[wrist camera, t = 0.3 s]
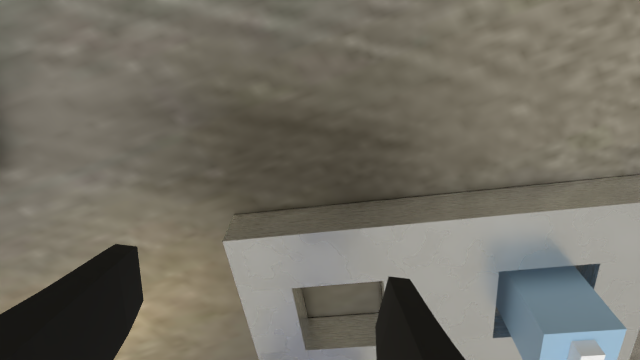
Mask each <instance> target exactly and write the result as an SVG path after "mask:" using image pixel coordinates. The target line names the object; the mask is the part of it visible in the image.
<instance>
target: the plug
mask: <svg viewBox="0 0 640 360" xmlns="http://www.w3.org/2000/svg"><path fill="white" fill-rule="evenodd" d="M496 307H497V309H498V311H499V313H500V315H501V317H502V319H503V321H504V323H505V325H506V327H507V329H508V331H509V333H510V335H511V337H512V339H513V341H514V343H515V345H516V347H517V349H518V351H519V353H520V355H521V357H522V359H523V360H617V358H618V355H619V352H620V349H621V346H622V343H623V340H624V336H625V333H626V330H627V329H626V327H625V326H624V325H623V324H622V323H621V321H620V320H619V319H618V318H617V317H616V316H615V314H614V313H613V312H612V311H611V310H610V308H609V307H608V306H607V305H606V304H605V302H604V301H603V300H602V299H601V298H600V296H599V295H598V294H597V293H596V292H595V290H594V289H593V288H592V287H591V286H590V284H589V283H588V282H587V281H586V280H585V278H584V277H583V276H582V275H581V274H580V272H579V271H578V270H577V269H576V268H575V266H562V267H550V268H537V269H525V270H512V271H500V272H499V278H498V288H497V298H496Z"/></svg>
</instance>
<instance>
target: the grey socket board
mask: <svg viewBox="0 0 640 360" xmlns="http://www.w3.org/2000/svg"><path fill="white" fill-rule="evenodd" d="M223 244H224V248H225V251H226V254H227V257H228V261H229V264H230V267H231V270H232V274H233V277H234V280H235V283H236V287H237V290H238V293H239V296H240V300H241V303H242V306H243V309H244V313H245V316H246V319H247V322H248V325H249V329H250V332H251V335H252V338H253V342H254V345H255V348H256V351H257V355H258V358H259V360H377V358H376V336H375V326H376V322H377V318H378V314H379V313H374V314H360V315H347V316H333V317H319V318H308V316H307V311H306V307H305V302H304V297H303V292H302V287H313V286H326V285H338V284H351V283H363V282H375V281H381V286H382V298H383V295H384V292H385V288H386V284H387V280H388V276H390V277H398V278H407V279H410V280H411V281H412V283H413V284H414V286H415V288H416V289H417V291H418V292H419V294H420V295H421V297H422V298H423V300H424V302H425V303H426V305H427V306H428V308H429V309H430V311H431V312H432V314H433V315H434V317H435V318H436V320H437V321H438V323H439V324H440V325H441V327H442V328H443V330H444V331H445V332H446V334H447V335H448V337H449V338H450V339H451V341H452V342H453V344H454V345H455V346H456V348H457V349H458V350H459V352H460V353H461V354H462V356H463V357H464V358H465V359H466V360H523V359H522V357H521V355H520V353H519V351H518V349H517V347H516V345H515V343H514V341H513V339H512V337H511V335H510V333H509V331H508V329H507V327H506V325H505V323H504V321H503V319H502V317H501V315H500V313H499V311H498V309H497V307H496V298H497V288H498V278H499V272H500V271H512V270H525V269H537V268H550V267H562V266H575V268H576V269H577V270H578V271H579V272H580V274H581V275H582V276H583V277H584V278H585V280H586V281H587V282H588V283H589V284H590V286H591V287H592V288H593V289H594V290H595V292H596V293H597V294H598V295H599V296H600V298H601V299H602V300H603V301H604V302H605V304H606V305H607V306H608V307H609V308H610V310H611V311H612V312H613V313H614V314H615V316H616V317H617V318H618V319H619V320H620V321H621V323H622V324H623V325H624V326H625V327H626V329H627V330H626V333H625V336H624V340H623V343H622V346H621V349H620V352H619V355H618V358H617V360H629V358H630V355H631V352H632V350H633V347H634V344H635V341H636V338H637V335H638V332H639V329H640V175H633V176H622V177H612V178H602V179H592V180H582V181H572V182H562V183H552V184H542V185H532V186H522V187H512V188H502V189H491V190H481V191H471V192H461V193H451V194H441V195H431V196H421V197H411V198H401V199H391V200H381V201H370V202H360V203H350V204H340V205H330V206H320V207H310V208H300V209H290V210H280V211H270V212H260V213H249V214H239V215H234V216H233V218H232V221H231V223H230V225H229V228H228V230H227V232H226V235H225V237H224V239H223Z"/></svg>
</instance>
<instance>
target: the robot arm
mask: <svg viewBox="0 0 640 360" xmlns="http://www.w3.org/2000/svg"><path fill="white" fill-rule="evenodd" d="M142 303H143V293H142V284H141V276H140V267H139V259H138V250H137V247H136V246H127V245H119V244H115V245H113V246H111V247H110V248H108V249H106V250H105V251H103V252H102V253H100V254H99V255H97V256H95V257H94V258H92V259H91V260H89V261H88V262H86V263H84V264H83V265H81V266H80V267H78V268H77V269H75V270H74V271H72V272H70V273H69V274H67V275H66V276H64V277H62V278H61V279H59V280H58V281H56V282H54V283H53V284H51V285H50V286H48V287H46V288H45V289H43V290H42V291H40V292H38V293H37V294H35V295H33V296H31V297H30V298H28V299H26V300H24V301H23V302H21V303H19V304H18V305H16V306H14V307H12V308H11V309H9V310H7V311H5V312H4V313H2V314H0V360H113V359H114V358H115V356H116V354H117V353H118V351H119V349H120V348H121V346H122V344H123V343H124V341H125V339H126V337H127V336H128V334H129V332H130V330H131V328H132V325H133V323H134V321H135V319H136V317H137V314H138V312H139V310H140V307H141V305H142ZM375 336H376V358H377V360H466V359H465V358H464V357H463V356H462V354H461V353H460V352H459V350H458V349H457V348H456V346H455V345H454V344H453V342H452V341H451V339H450V338H449V337H448V335H447V334H446V332H445V331H444V330H443V328H442V327H441V325H440V324H439V323H438V321H437V320H436V318H435V317H434V315H433V314H432V312H431V311H430V309H429V308H428V306H427V305H426V303H425V302H424V300H423V298H422V297H421V295H420V294H419V292H418V291H417V289H416V288H415V286H414V284H413V283H412V281H411V280H410V279H407V278H398V277H390V276H388V280H387V284H386V288H385V292H384V295H383V299H382V303H381V307H380V310H379V314H378V318H377V322H376V326H375Z"/></svg>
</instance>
